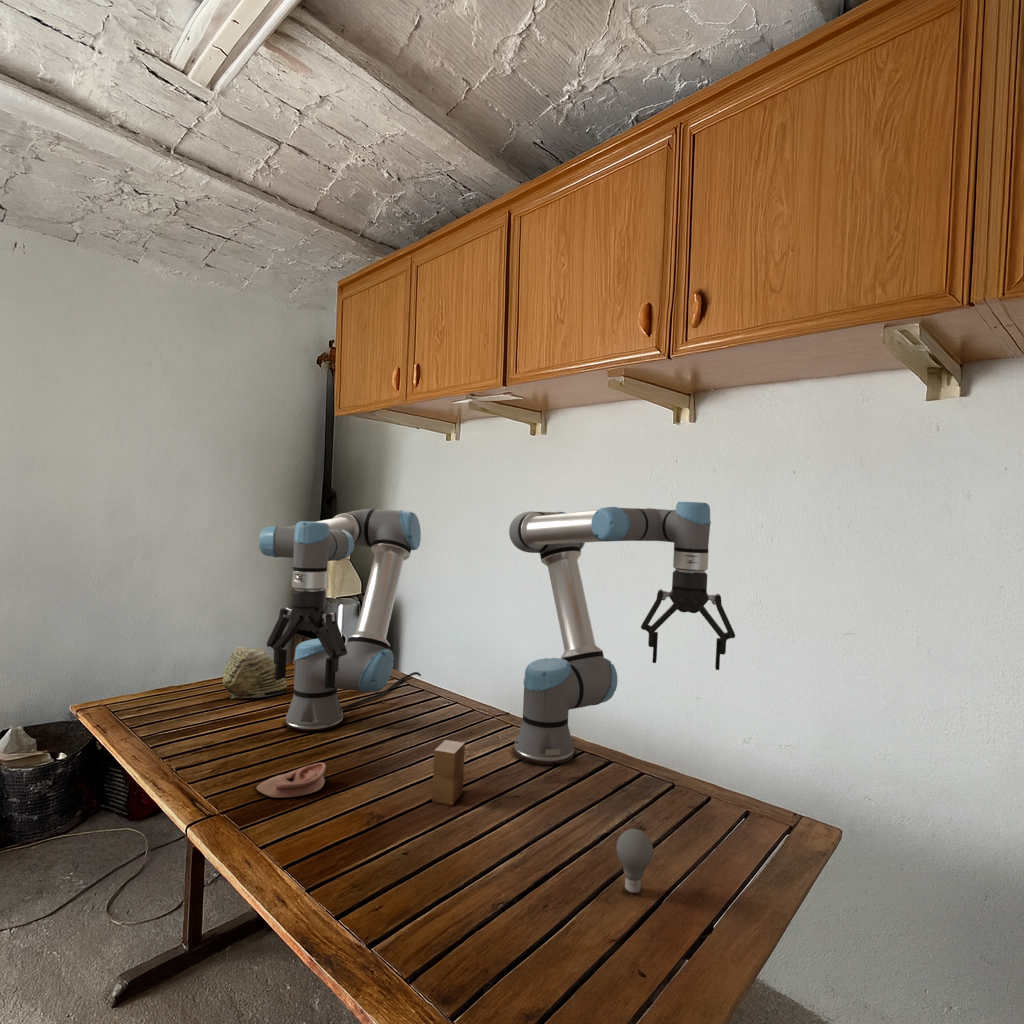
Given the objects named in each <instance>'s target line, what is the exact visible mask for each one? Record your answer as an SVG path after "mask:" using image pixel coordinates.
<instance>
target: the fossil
mask: <svg viewBox="0 0 1024 1024" xmlns="http://www.w3.org/2000/svg"><path fill="white" fill-rule="evenodd" d="M273 661H274V659H273V658H271V657H270V656H269V655H268V654H267V653H266V652H265V650H264V649H263V648H260V647H258V648H251V647H247V646H246V647H245V646H238V647H237V648H236V649H235V650H233V651H232V653H231V656H230V657H229V659H228V660H227V663H226V666H225V668H224V671H223V675H222V676H223V677H222V685H223V687H224V688H225V690H226V691H228V693H229V698H230V699H250V698H264V697H271V696H275V695H281V694H284V693H285V691H286V689H287V687H288V686H287V680H286V677H285V678H282V679H279V680H275V666H276V664H274V662H273Z"/></svg>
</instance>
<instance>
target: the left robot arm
mask: <svg viewBox="0 0 1024 1024" xmlns="http://www.w3.org/2000/svg"><path fill="white" fill-rule="evenodd" d="M421 532H422V531H421V523H420V520H419V518H418V516H417V514H416V513H415V512H414V511H409V510H403V509H399V510H395V509H377V508H375V509H374V508H363V509H358V510H353V511H347V512H344V513H339V514H336V515H335V516H334V517H333V518H328V519H322V520H317V521H298V522H297V523H296V524H295V525H287V526H278V525H275V526H266V527H264V528H263V529H262V530H261V531H260V534H259V537H258V548H259V551H260V553H261V554H262V555H264V556H266V557H273V558H287V559H288V558H289V559H293V560H292V561H293V562H292V563H293V564H292V581H291V587H292V588H293V590H292V591H291V594H290V595H291V598H290V604H291V607H292V608H291V607H290V606H287V607H282V608H280V609H279V615H278V618H277V620H276V623H275V625H274V627H273V629H272V631H271V633H270V635H269V637H268V640H267V642H266V647H267V648H269V647H270V648H271V649H272V650H273V662H274V664H275V665H276V666H275V680H279V679H282V678H285V679H286V676H287V675H286V674H287V673H286V672H287V654H288V653H287V652H288V649H286V646H287V645H288V643H289V642H290V641H291V639H293V637H294V636H295V635H296V633H298V631H305V632H312V633H313V634H314V635H315V636H316V637H317V638H313V639H307V640H304V641H302V642H299V643H298V644H297V645H296V647H295V652H294V653H295V654H294V659H293V661H294V672H293V695H292V696H293V697H292V699H291V702H290V704H289V706H288V711H287V713H286V715H285V726H286V728H287V729H289V730H291V731H294V732H295V731H296V732H301V733H316V732H325V731H329V730H332V729H335V728H337V727H339V726H340V725H342V723H343V722H344V714H343V710H344V709H349V708H350V707H353V706H356V705H359V704H362V703H364V702H367V701H370V700H373V699H376V698H378V697H381V696H383V695H384V694H386V693H388V692H389V691H391V690H392V689H394V687H395V686H397V685H399V683H401V682H403V681H404V680H405V679H409V678H410V677H412V676H414V675H415V676H419V677H421V676H422V674H421V673H420V672H419V671H414V672H411V673H409V674H407V675H405V676H403V677H400V678H399V679H398V680H397V681H396V682H395V681H394V683H393V684H392V685H391V686H389V687H388V688H386V689H385V690H383V691H381V690H382V689H384V687H385V686H386V685H387V684H388V682H389V680H390V678H391V675H392V673H393V670H394V661H395V657H394V653H393V651H392V650H390V648H391V645H390V643H389V642H388V640H387V636H388V631H389V626H390V621H391V619H392V618H391V617H392V614H393V610H394V604H395V601H396V595H397V591H398V586H399V582H400V578H401V574H402V573H401V572H402V569H403V565H404V561H406V560H408V559H410V557H411V552H412V551H417V550H418V549H419V547H420V545H421V539H422V533H421ZM355 546H359V547H365V548H370V550H371V552H372V553H373V555H374V556H373V561H372V565H371V568H370V573H369V577H368V581H367V585H366V589H365V593H364V597H363V601H362V605H361V610H360V613H359V617H358V620H357V625H356V629H355V632H354V633H353V634H351V635H350V636H348V638H347V642H346V643H345V642H344V639H343V636H342V632H341V630H340V627H339V624H338V620H337V619H338V617H337V612H330V613H326V612H325V606H326V603H327V591H326V590H325V589H326V588H327V587H328V583H327V582H328V564H329V563H328V562H332V561H338V562H339V561H341V560H343V559H346V558H348V557H350V556H351V555H352V553H353V551H354V549H355ZM290 619H292V621H291V622H290V624H289V621H290ZM288 624H289V625H288ZM287 625H288V626H287ZM286 627H287V629H286ZM285 629H286V630H285ZM338 689H339V690H347V691H357V692H360V693H377V692H379V693H377V694H374V695H371V696H368V697H365V698H362V699H359V700H357V701H353V702H351V703H348V704H345V705H341V702H340V699H339V695H338Z"/></svg>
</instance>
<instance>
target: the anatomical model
mask: <svg viewBox="0 0 1024 1024" xmlns="http://www.w3.org/2000/svg"><path fill="white" fill-rule="evenodd" d="M326 768H327V765H326V763H325V762H316V763H313V764H309V765H306V766H302V767H300V768H297V769H294V770H292V771H289V772H286V773H282V774H278V775H275V776H273V777H270V778H267V779H265V780H264V781H262V782H261V783H259V784H258V785H256V790H257V792H259V793H261V794H263V795H264V796H267V797H270V798H275V799H278V798H293V797H294V798H295V797H300V796H301V797H302V796H306V795H309V794H312V793H315V792H318V791H320V790H321V789H322V788H323V787H324V785H325V783H326V778H325V777H324V775H325V772H326V770H327V769H326Z"/></svg>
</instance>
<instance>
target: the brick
mask: <svg viewBox="0 0 1024 1024" xmlns="http://www.w3.org/2000/svg"><path fill="white" fill-rule="evenodd" d="M465 744H466V743H465V742H461V741H456V740H448V739H444V740H443V741H442V742H441V743H440V744H439V745H438V746H437V747H436V748H435V749H434V750H433V773H432V774H433V775H432V795H431V796H432V797H431V802H433V803H438V804H444V805H449V806H453V805H454V804H455V803H456V802H457V800H458V799H459V798H460V797H461V795H462V794H463V793H464V773H465V772H464V770H465V751H466V750H465V749H466V745H465Z"/></svg>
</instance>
